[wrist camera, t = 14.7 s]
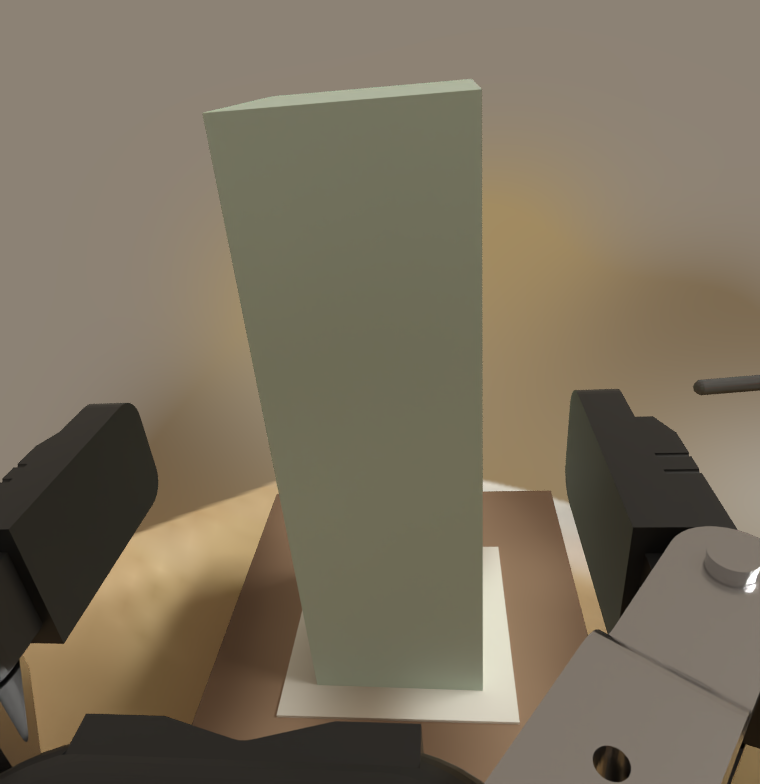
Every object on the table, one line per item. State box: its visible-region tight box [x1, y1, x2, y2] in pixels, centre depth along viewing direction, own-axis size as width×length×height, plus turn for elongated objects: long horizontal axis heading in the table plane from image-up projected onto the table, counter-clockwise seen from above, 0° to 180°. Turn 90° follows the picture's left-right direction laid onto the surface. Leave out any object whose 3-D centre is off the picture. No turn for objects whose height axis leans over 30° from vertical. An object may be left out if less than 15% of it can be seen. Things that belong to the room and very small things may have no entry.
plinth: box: [192, 491, 588, 783], centre depth 22 cm, size 12×14×5 cm
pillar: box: [203, 79, 483, 691], centre depth 17 cm, size 5×5×16 cm
